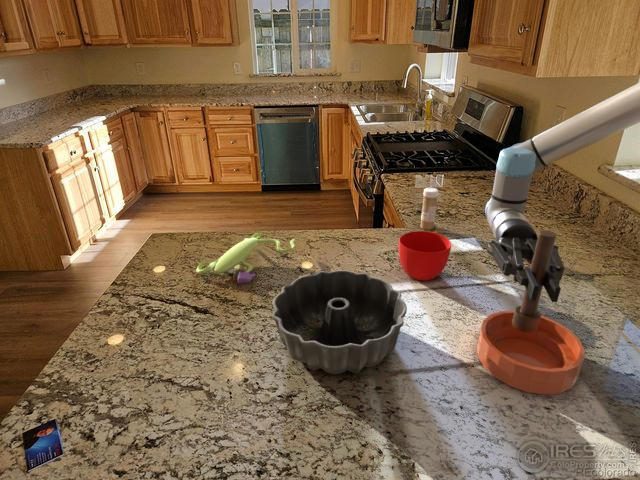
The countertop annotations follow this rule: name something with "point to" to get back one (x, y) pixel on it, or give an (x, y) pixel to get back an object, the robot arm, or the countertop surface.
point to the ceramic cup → (423, 254)
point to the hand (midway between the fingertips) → (545, 294)
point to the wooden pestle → (527, 313)
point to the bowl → (530, 354)
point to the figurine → (240, 257)
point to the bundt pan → (339, 320)
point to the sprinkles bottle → (429, 208)
